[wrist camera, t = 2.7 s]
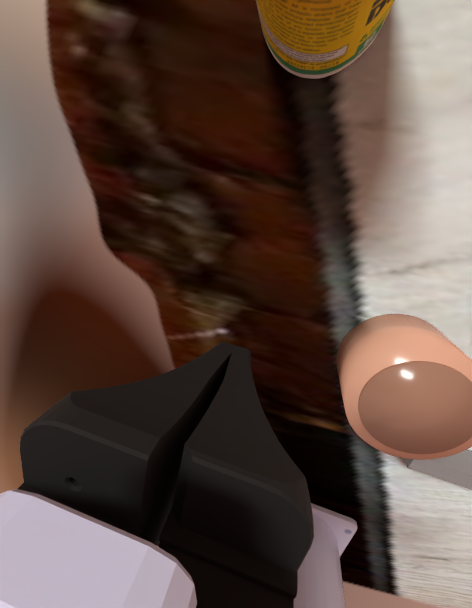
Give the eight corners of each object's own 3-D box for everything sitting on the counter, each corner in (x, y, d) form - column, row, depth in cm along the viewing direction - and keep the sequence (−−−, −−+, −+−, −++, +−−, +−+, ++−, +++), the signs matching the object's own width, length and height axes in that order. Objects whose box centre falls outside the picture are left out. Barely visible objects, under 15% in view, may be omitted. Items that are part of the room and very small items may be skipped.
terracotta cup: (416, 417, 16) (450, 482, 12) (321, 382, 17) (325, 432, 13) (474, 336, 14) (539, 384, 10) (361, 299, 15) (380, 330, 11)
